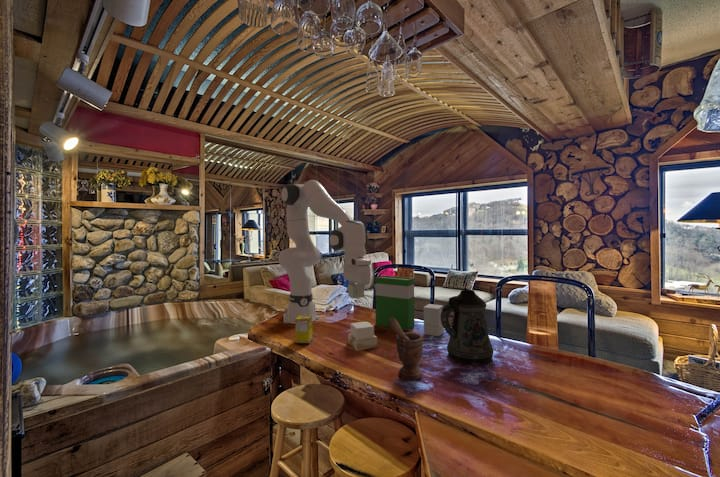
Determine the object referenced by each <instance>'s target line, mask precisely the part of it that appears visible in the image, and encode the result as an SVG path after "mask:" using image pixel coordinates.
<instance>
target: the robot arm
mask: <svg viewBox="0 0 720 477" xmlns="http://www.w3.org/2000/svg"><path fill="white" fill-rule="evenodd" d="M280 196H281V200H282V202H283V204H285V205H286V216H285V217H286V228H287V230H286V231H287V236H288V238H289V239H291V240H292V241H293V242H294V244H295V246H294V247H288V248H285V249H283V250H281V251H280V252H279V255H278V258H277V259H278V263H279V265H280V266H281V268H283V269H284V270H285V272H286V273H287V275H288V279H289V292H290V293H289V299H288V300H289V302H288V304H287V306H286V307H284V308H283V309H284V310H283V311H284V312H285V313H283V315H282V316H283V317H282V318H283V323H284V324H293V325H295V319H296V318H297V317H298V316H299V315H309V316H312V323H313V322H314V321H315V320H318V319H320V317H319V315H317V313H316V312H317V311H316V308H317V307H316V303H315V302H314V301H313V292H312V278H311V277H310V276H309V275H307V273H306V271H305V268H308V267H309V268H310V267H313V266H315V265H317V264H319V263H320V261H321V259H322V254H321V251H320V249H319V248H317V247H316V245H315V244H314V243H313V240H312V238H311V234H310V229H309V220H308V217H309V216H308V208H309V209H310V211H311V212H312V213H313V214H314V215H315V216H317V217H321V218H323V219H325V218H326V219H329V220H332V221H335V222H337V223H338V224H339V225H340V227H337V228H336V229H333V230H332V231H331V232H330V233H329V236H328V244H329V246H330V248H331V249H332V250H333V251H336V252H343V251H344V263H343V272H342V273H343V274H342V275H343V279H344V280H347V281H348V284H356V283H357V286H358V288H357V294H362V288H363V285H364V286H366V285H369V284H370V282H371V266H370V265H372V260H371V259H370V257H368V255H367V250H366V246H367V245H368V242H369V236H368V233H367V231H366V229H365V224H364V222H362V221H360V220H356V219H355V220H354V219H353V217H352V216H351V215H350V214H349V213H348V211H347V210H345V208H344V207H342V206H341V205H340V204H338V203H337V201H335V200H334V199H333V197H332V196H330V194H329V193H328V191H327V190H326V188H325V187H324V186H323V185H322V183H321V182H320V181H318V180H316V179H310V180H307V181H306V182H305V183H294V184H293V183H289V184H284V186H283V187H282V189H281V192H280Z"/></svg>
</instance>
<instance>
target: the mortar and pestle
mask: <svg viewBox="0 0 720 477" xmlns="http://www.w3.org/2000/svg"><path fill="white" fill-rule="evenodd" d="M388 323H389V325H390V327H389V328H391V330H393V332H394V333H395V334H396V337H395V338H396V351H397V352H396V353H397V354H398V359H399V361H400V362H402V365H403V366H402V367H401V368H400V369H399V371H398V376H399V377H400V378H402V379H403V380H407V381H417V380H419V379H421V377H422V374H423V373H422V371H421V369H420V367H418V364H419V363H420V362H421V359H422V357H423V352H424V346H423V343H424V336H423V335H422V334H420V333H416V332H404V331H403V329H401V327H400V325H399V323H398V321H397V320H396V319H395V318H393V317H392V318H390V319H389V320H388Z"/></svg>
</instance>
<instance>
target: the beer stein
mask: <svg viewBox="0 0 720 477" xmlns="http://www.w3.org/2000/svg"><path fill="white" fill-rule="evenodd" d="M486 308H487V303H486V302H485V300H483V299H482V298H481V297H479V295H477V294H476V292H475V290H471V289H462V290H461V291H460V292H459V294H458V295H455V296H454V295H453V296H450V297H449V298H448V303H447V304H446V305H443V309H442V312H441V316H440V318H441V323H442V326H443V328H444V332H446V333H447V335H449V340H448V343H447V345H446V349H447V355H448V357H449V358H450V360H452V361H454V362H457V363H459V364H462V365H467V366H486V365H487V364H488V365H489V364H490V363H491V362H492V361H493V360H492V359H493V355H494V348H493V345H492V343H491V340H490V335H489V330H488V326H487V325H488V324H487V318H486ZM451 314H452V320H451V325H450V322H449V318H450V315H451Z"/></svg>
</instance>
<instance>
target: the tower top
mask: <svg viewBox="0 0 720 477" xmlns="http://www.w3.org/2000/svg"><path fill="white" fill-rule="evenodd" d="M350 333H351V335H352V336H354V337H355V338H356V339H357V340H358V339H365V338H373V337H374V335H375V326H374V325H372V323H370V322H369V321H360V322H359V321H358V322H352V323H350Z"/></svg>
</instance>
